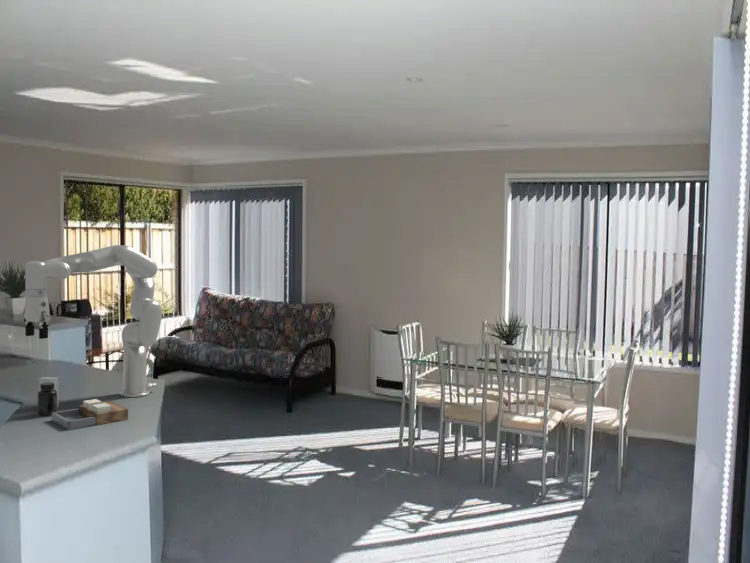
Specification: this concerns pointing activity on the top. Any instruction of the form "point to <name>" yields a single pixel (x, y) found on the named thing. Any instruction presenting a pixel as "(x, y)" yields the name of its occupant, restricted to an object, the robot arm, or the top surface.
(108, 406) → the tile sage
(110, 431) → the top surface
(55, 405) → the supplement bottle
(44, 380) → the skincare box
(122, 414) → the board
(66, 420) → the box
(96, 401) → the tile cream
